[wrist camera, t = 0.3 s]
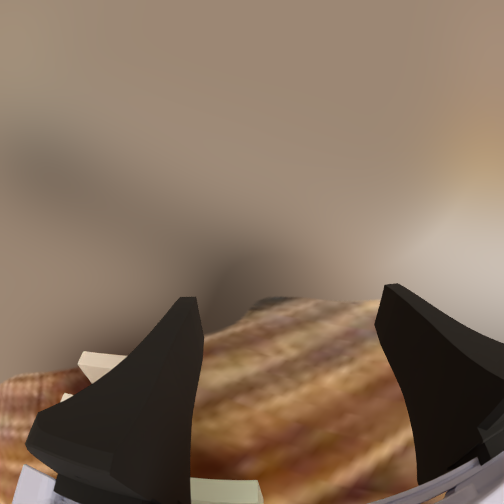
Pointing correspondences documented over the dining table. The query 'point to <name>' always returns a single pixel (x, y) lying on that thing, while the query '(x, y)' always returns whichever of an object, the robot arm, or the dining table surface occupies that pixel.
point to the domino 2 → (225, 491)
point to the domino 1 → (98, 364)
